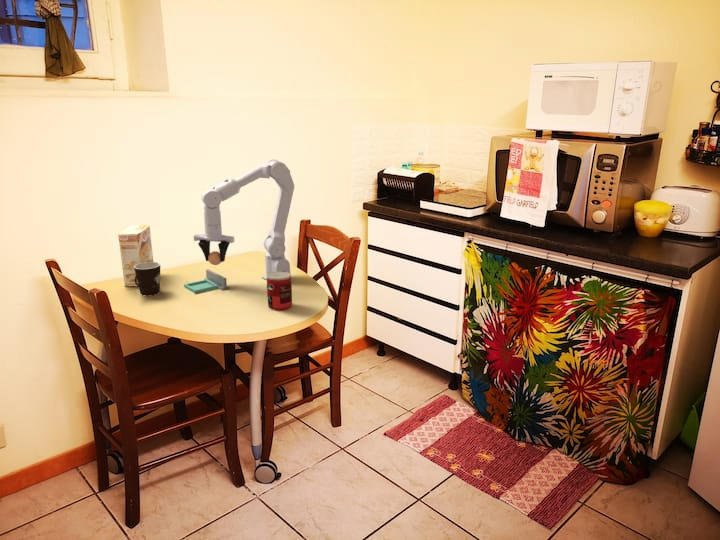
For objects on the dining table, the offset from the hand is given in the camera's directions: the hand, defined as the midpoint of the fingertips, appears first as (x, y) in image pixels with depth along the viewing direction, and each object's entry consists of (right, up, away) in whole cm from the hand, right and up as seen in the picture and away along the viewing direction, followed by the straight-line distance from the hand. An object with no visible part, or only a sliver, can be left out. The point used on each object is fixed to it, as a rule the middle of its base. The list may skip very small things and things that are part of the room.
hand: (215, 260), depth 196 cm
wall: (0, -9, +3) cm, 9 cm away
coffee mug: (-22, -12, -7) cm, 26 cm away
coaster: (-5, -10, -1) cm, 11 cm away
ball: (0, -1, +1) cm, 2 cm away
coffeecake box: (-30, -7, +7) cm, 32 cm away
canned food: (+26, -16, -18) cm, 35 cm away
